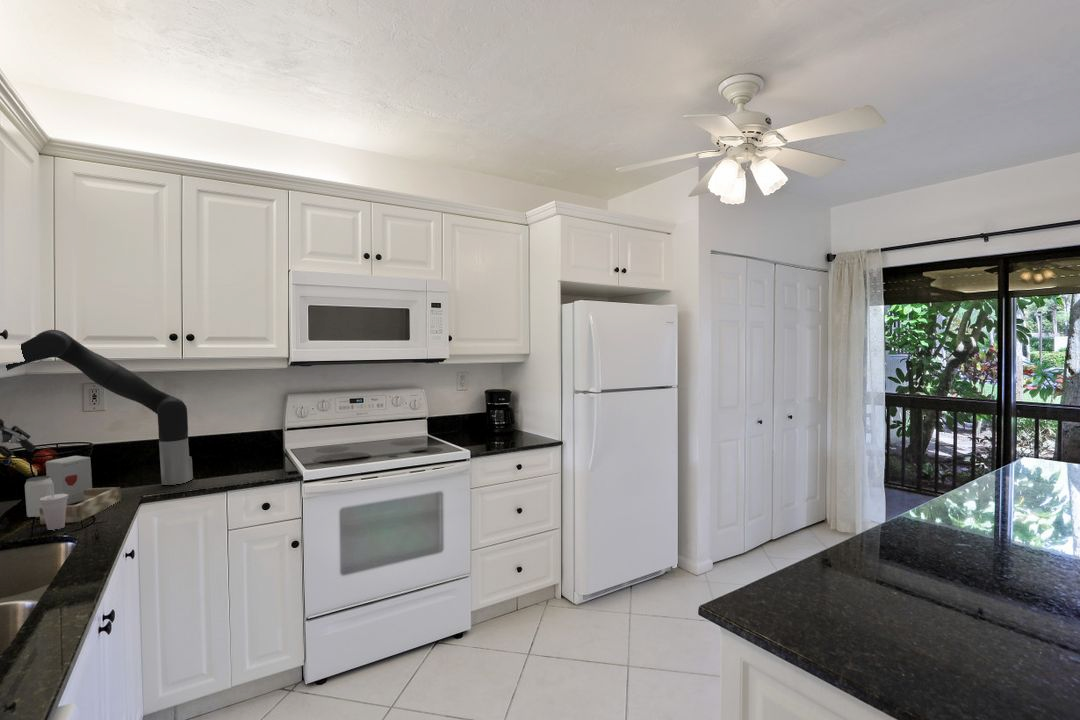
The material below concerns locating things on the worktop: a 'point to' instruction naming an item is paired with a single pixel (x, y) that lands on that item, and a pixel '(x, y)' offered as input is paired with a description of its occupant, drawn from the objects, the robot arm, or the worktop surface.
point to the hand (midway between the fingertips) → (22, 452)
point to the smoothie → (54, 509)
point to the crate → (89, 504)
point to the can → (36, 493)
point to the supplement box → (70, 476)
